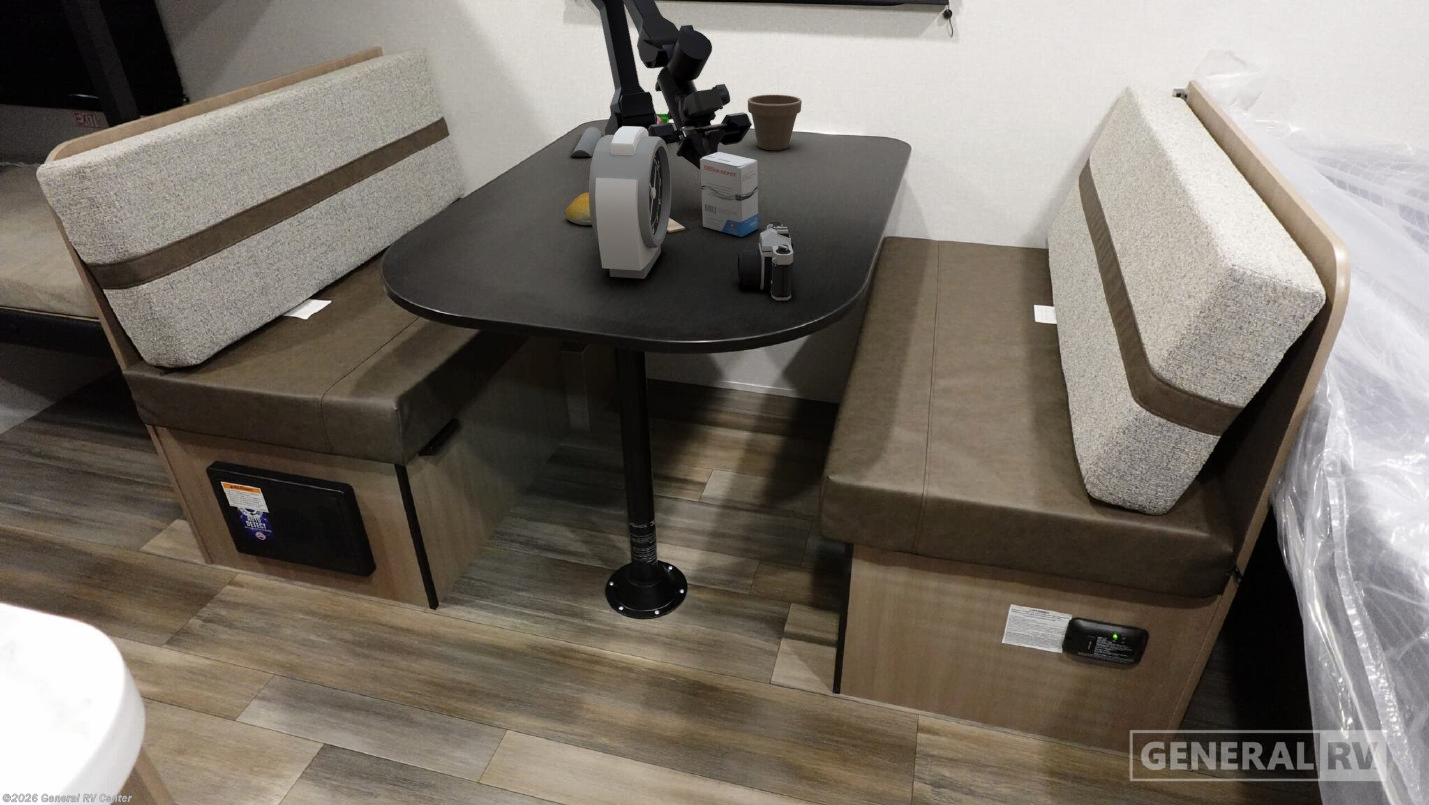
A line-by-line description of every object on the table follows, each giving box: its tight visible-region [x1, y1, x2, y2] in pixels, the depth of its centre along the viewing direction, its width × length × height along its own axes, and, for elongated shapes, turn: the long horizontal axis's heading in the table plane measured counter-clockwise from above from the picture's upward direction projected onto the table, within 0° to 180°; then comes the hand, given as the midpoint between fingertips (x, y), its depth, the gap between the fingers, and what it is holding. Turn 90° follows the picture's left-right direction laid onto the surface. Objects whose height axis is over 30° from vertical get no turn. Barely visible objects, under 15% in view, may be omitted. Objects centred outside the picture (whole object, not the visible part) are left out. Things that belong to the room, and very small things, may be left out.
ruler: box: [666, 217, 686, 234], centre depth 152 cm, size 16×3×1 cm, turn 29°
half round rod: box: [571, 126, 602, 158], centre depth 192 cm, size 4×20×2 cm, turn 179°
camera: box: [737, 221, 795, 301], centre depth 125 cm, size 13×8×9 cm, turn 5°
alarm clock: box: [588, 126, 673, 280], centre depth 129 cm, size 18×8×20 cm, turn 170°
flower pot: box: [747, 94, 803, 151], centre depth 189 cm, size 12×11×10 cm
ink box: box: [699, 151, 759, 238], centre depth 144 cm, size 8×5×12 cm, turn 50°
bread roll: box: [565, 191, 592, 226], centre depth 151 cm, size 8×9×4 cm
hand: (714, 178), depth 147 cm, fingers closed
